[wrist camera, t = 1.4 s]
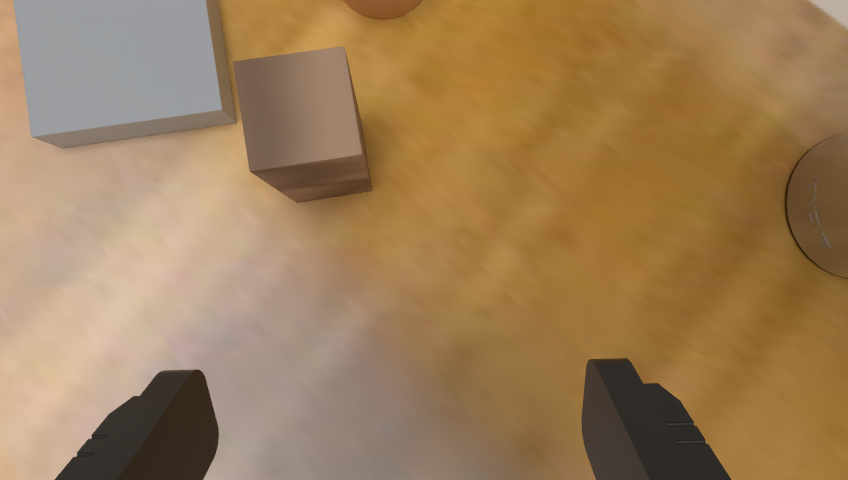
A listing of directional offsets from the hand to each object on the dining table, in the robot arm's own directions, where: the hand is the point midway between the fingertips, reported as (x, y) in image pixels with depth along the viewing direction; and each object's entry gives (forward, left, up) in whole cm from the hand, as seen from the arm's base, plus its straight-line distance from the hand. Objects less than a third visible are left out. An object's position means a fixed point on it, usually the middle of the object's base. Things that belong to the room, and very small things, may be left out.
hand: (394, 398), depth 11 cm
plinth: (+12, -18, -20) cm, 29 cm away
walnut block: (+2, -10, -20) cm, 22 cm away
